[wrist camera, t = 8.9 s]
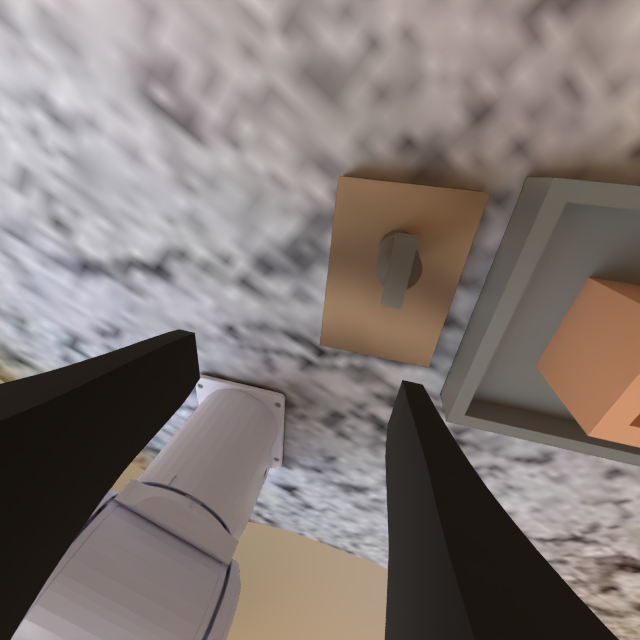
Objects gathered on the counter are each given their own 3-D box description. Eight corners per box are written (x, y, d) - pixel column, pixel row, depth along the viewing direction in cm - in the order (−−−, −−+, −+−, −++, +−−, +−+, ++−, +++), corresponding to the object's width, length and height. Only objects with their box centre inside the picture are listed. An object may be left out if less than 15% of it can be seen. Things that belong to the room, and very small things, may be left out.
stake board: (426, 356, 18) (439, 424, 13) (323, 336, 20) (300, 391, 15) (482, 191, 14) (535, 200, 9) (342, 176, 15) (316, 176, 10)
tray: (665, 443, 17) (703, 481, 15) (440, 394, 20) (446, 421, 17) (901, 214, 11) (1026, 224, 9) (527, 176, 13) (554, 177, 11)
